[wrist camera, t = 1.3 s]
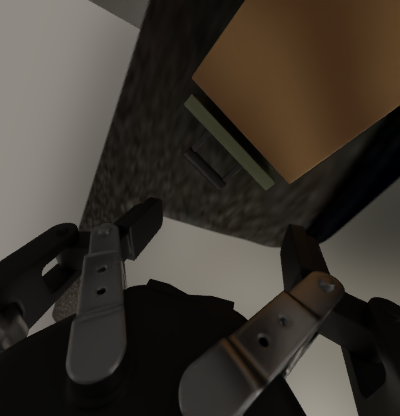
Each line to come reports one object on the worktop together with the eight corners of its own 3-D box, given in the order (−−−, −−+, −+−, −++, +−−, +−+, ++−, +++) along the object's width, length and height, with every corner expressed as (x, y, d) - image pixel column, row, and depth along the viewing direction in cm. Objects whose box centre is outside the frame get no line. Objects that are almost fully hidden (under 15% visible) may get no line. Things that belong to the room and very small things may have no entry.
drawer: (237, 190, 29) (230, 217, 23) (181, 132, 28) (155, 143, 21) (375, 77, 20) (430, 67, 13) (302, -20, 18) (323, -87, 12)
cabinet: (281, 158, 27) (289, 184, 18) (214, 84, 25) (190, 77, 17) (412, 52, 19) (522, 18, 11) (330, -65, 17) (390, -209, 9)
